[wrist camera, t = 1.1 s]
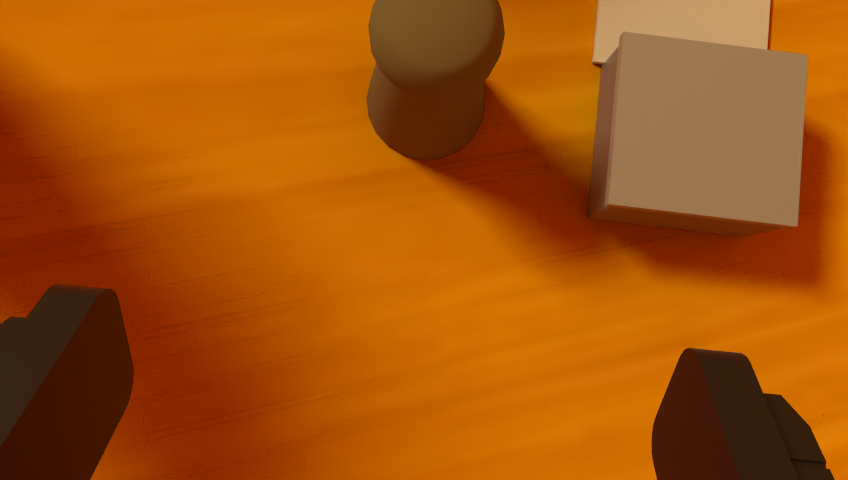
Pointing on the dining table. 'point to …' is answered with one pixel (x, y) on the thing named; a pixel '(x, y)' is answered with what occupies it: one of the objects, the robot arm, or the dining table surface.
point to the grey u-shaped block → (696, 117)
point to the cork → (431, 72)
